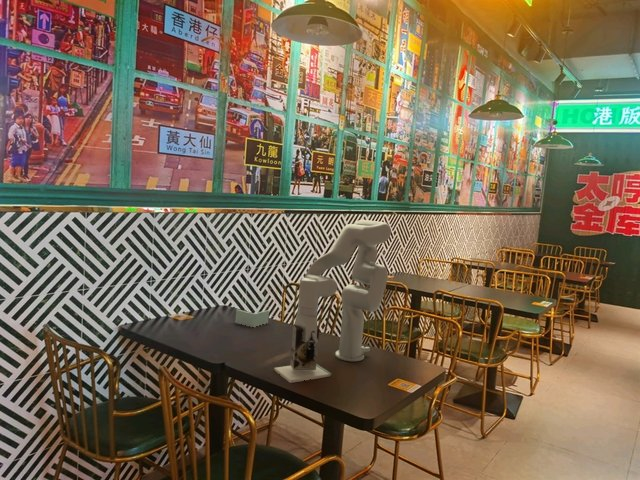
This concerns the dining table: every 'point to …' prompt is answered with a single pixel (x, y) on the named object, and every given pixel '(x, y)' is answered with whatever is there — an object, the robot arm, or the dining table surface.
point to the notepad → (301, 373)
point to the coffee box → (302, 351)
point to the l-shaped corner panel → (251, 318)
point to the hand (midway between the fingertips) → (304, 355)
